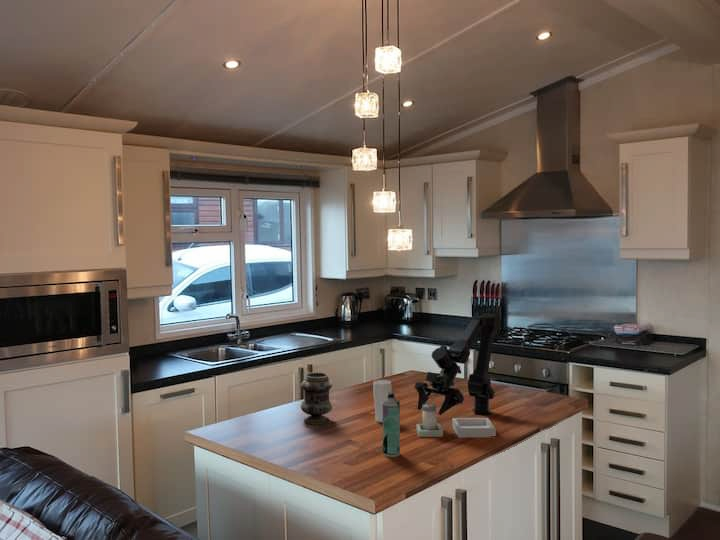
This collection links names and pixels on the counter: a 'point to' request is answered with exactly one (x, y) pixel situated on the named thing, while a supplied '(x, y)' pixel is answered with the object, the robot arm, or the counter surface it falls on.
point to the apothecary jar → (316, 397)
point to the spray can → (391, 426)
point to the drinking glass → (380, 397)
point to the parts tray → (473, 427)
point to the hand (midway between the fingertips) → (428, 412)
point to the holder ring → (429, 431)
